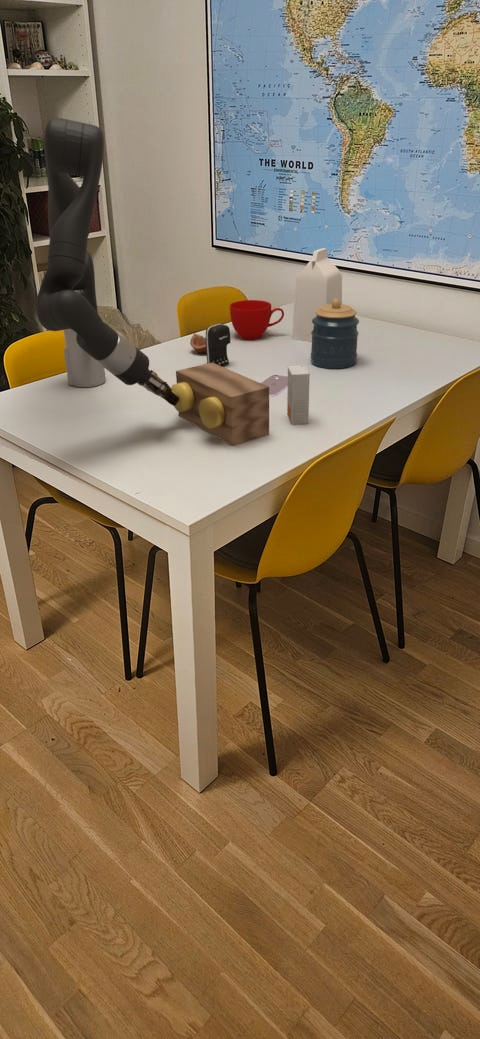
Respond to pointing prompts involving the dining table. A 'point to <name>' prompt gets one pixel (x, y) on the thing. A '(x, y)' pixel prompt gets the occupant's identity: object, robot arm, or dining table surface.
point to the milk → (314, 292)
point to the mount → (226, 403)
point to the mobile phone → (276, 384)
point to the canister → (334, 336)
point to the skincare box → (298, 394)
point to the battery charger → (217, 344)
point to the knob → (183, 396)
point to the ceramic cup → (252, 318)
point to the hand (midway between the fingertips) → (175, 401)
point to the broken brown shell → (198, 343)
